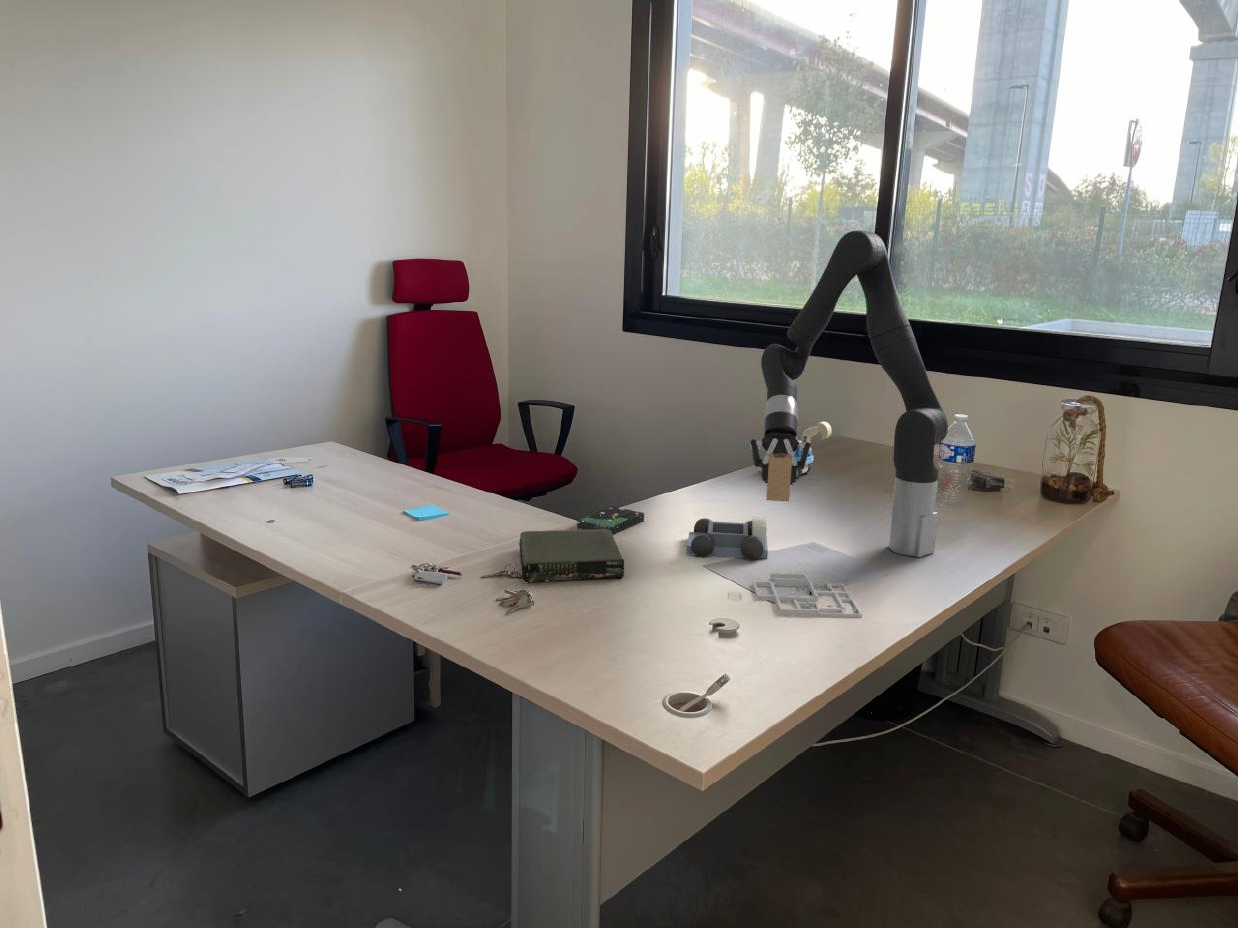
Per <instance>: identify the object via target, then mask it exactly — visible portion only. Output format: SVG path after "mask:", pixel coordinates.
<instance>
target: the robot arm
mask: <svg viewBox="0 0 1238 928" xmlns="http://www.w3.org/2000/svg"><path fill="white" fill-rule="evenodd" d="M890 265H891V264H890V261H889V257H888V251H887V249H886V246H885V243H884V241H883V239H882V238H881V237H880V236H879V235H878V234H876V233H874V232H871V231H866V230H865V231H864V230H851V231H849V232H847V233H844V235H842V237H841V238H840V239H839V241H838V242H837V244H836V246H835V248H834V249H833V252H832V254H831V256H830V257H829V260H828V262H827V264H826V267H825V268H824V271H823V273H822V275H821V276H820V278H819V281H818V283H817V284H816V286H815V287H814V289H813V291H812V293H811V294H810V296H809V298H808V299H807V301H806V303H805V304H804V305H803V306H802V308H801V309H800V311H799V312H798V314H797V316H796V317H795V319H794V320H793V322H792V323H791V325H790V326H789V327H788V329H787V331H786V332H787V333H786V335H787V338H788V339H789V340H790V341H791V342H792V343H793V344H794V345H795V346H796V347H795V349H793V350H792V349H790V348H787V347H785V346H783V345H781V344H778V343H772V344H770V345H768V346H766V348H765V349H764V351H763V352H762V355H761V359H760V360H761V361H760V366H761V367H760V368H761V371H762V375H763V379H764V383H765V386H766V389H767V390H766V405H765V409H764V410H765V411H764V426H763V427H764V430H763V437H762V439H761V440H756V439H753V438H752V439H751V440H750V445H749V446H750V447H749V448H750V451H751V452H750V453H751V456H752V460H753V465H754V467H756V468H758V467H759V468H761V480H762V481H764V484H767V483H768V462H769V453H773V452H781V453H788V454H792V466H791V481H790V486H793V484H795V483H796V481H797V478H796V475H797V470H798V469H804V467H805V464H806V460H807V457H808V454H809V451H810V447H811V446H812V445H811V442H810V443H809V442H807V443H805V444H804V443H800V442H799V439H798V418H799V417H798V414H799V413H798V386H797V384H796V382H795V380H797V379H798V378H800V377H801V375H802V374H803V373H804V370H805V369H806V365H807V363H808V359H809V357H810V355H811V352H812V349H813V346H814V345H815V344H816V341H817V340H818V339H819V338H820V336H821V334H822V333H823V332H824V330H825V329H826V327H827V326H828V324H829V322H830V320H831V319H832V316H833V314H834V311H835V309H836V306H837V303H838V302H839V298H840V297H841V296H842V293H843V292H844V291H845V288H846V287H847V286H848V285H849V283H850V282H852V280H853V279H854V278H855V277H856V278H857V279H858V281H859V284H860V286H861V289H862V292H863V295H864V299H865V307H866V308H865V309H866V310H865V311H866V330H867V335H868V338H869V340H870V344H871V347H872V349H873V352H874V355H875V357H876V359H877V362H878V364H879V366H881V369H883V371H884V372H885V374H886V375H887V376H888V377H889V378H890V379H891V381H892V383H893V384H894V385H895V386H896V388H897V390H898V391H899V394H900V396H901V398H902V401H903V403H904V407H905V410H906V411H905V412H904V413H902V414H901V415H900V416H899V418H898V419H897V421H896V424H895V428H894V435H893V436H894V437H893V438H894V439H893V440H894V441H893V458H892V459H893V465H894V469H895V475H894V476H895V477H894V486H893V487H894V488H893V496H892V498H893V499H892V506H891V519H890V531H889V541H888V549H889V550H890V551H892V553H896V554H899V555H903V556H908V557H909V556H910V557H916V558H921V557H923V556H927V555H930V554H933V553H935V548H936V541H937V540H936V539H937V529H938V522H939V521H938V519H939V513H938V512H937V511H936V501H937V490H938V482H939V481H938V480H939V473H940V471H939V467H938V466H937V465H936V464H935V463H934V455H935V446H937V445H938V444H941V443H942V442H943V441H944V440H945V438H946V437H947V434H948V431H949V422H948V418H947V416H946V413H945V412H944V410H943V407H942V406H941V404H940V403H941V402H940V401H939V398H938V397H937V395H936V392H935V390H934V388H933V386H932V384H931V382H930V379H929V376H928V373H927V370H926V367H925V364H924V362H923V358H922V356H921V353H920V350H919V347H918V343H917V341H916V337H915V335H914V331H913V329H912V326H911V323H910V322H909V319H908V316H907V314H906V311H905V308H904V305H903V302H902V300H901V297H900V295H899V293H898V290H897V287H896V284H895V282H894V277H893V274H892V270H891V266H890ZM761 447H763V449H764V450H765V451H766V453H765V456H764V458H763V459H762V458H761V457H760V453H759V451H760V450H761ZM797 448H800V452H801V453H802V456H801V459H800V461H798V462H796V459H795V456H794V453H793V452H794V451H795V450H796V449H797Z"/></svg>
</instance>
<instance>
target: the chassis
mask: <svg viewBox="0 0 1238 928" xmlns="http://www.w3.org/2000/svg"><path fill="white" fill-rule="evenodd" d="M766 518H767V517H766V516H762V515H761V516H759V515H758V516H757V515H752V519H751V520H749V521H746V522H731V521H730V522H729V521H728V522H727V521H713V520H711V519H709V518H705V517H704V518H700V519H698V520H697V521H696V522H695V524H694V526H693V531H689V533H688V539H687V544H686V555H695V556H696V557H699V558H706V557H709V556H714V557H715V556H716V557H718V556H719V557H731V558H734V557H735V558H745V559H746V560H749V561H757V560H758V559H765V560H766V559H768V552H769V549H768V536H767V519H766Z"/></svg>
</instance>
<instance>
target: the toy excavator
mask: <svg viewBox="0 0 1238 928" xmlns="http://www.w3.org/2000/svg"><path fill="white" fill-rule="evenodd" d="M832 432H833V431H832V426H831V425H830V423H829V422H827V421H821V422H818V423H817V425H815V426H811V427H809V428H807V429H805V430H804V431H803V433H802V435H801V439H800V440H799V439H798V440H799V442H800V443H804V444H805V443H807V442H809V443H810V444H811V438H812V437H813V436H815V435H817V434H819V433H820V435H821V439H822V440H826V439H827V438H830V437H831V435H832ZM812 449H813V448H811V446H810V451H809V454H808V457H807V460H806V464H805V467H804V469H798V470H797V475H796V479H797V478H799V477H801V476H802V475H806V474H808V473H810V471H811V470H812V463H813V462H814V459H815V457H814V454H813V453H812V452H813V450H812ZM793 453H794V456H795V459H796V462H798V461H800V459H801V456H802V453H801V452H800V448H797V449H796V450H795V451H794V452H793Z"/></svg>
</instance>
